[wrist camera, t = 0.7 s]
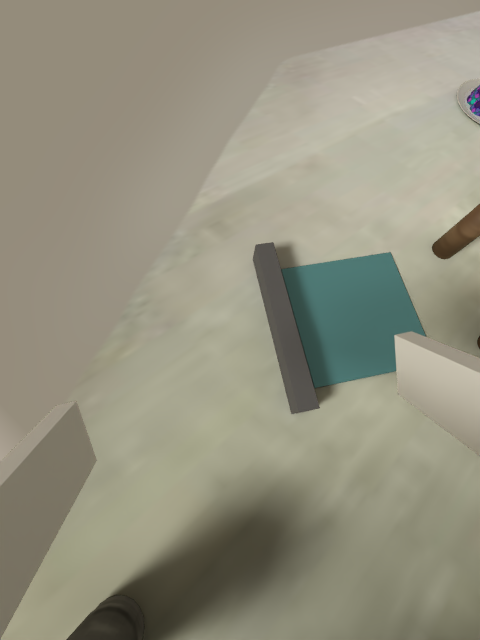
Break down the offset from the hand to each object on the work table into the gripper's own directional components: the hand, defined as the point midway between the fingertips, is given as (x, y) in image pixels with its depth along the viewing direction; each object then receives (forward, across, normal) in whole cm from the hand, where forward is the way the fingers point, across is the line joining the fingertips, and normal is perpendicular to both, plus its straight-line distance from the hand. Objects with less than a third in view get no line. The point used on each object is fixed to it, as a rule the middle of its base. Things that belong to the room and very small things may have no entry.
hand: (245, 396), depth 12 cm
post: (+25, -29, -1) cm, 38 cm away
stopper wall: (+20, -6, +4) cm, 21 cm away
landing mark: (+21, -15, +4) cm, 26 cm away
